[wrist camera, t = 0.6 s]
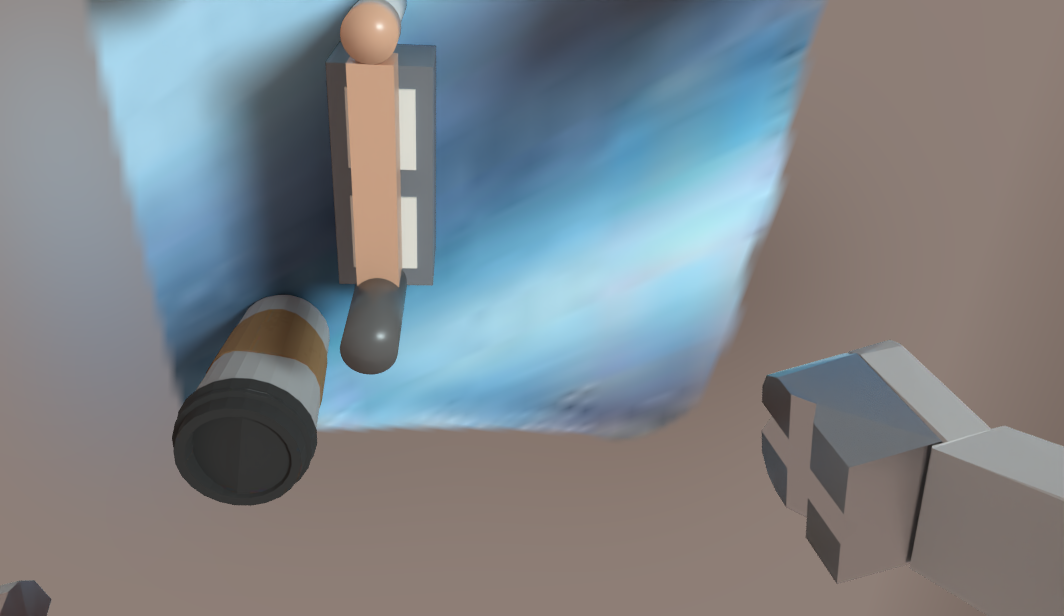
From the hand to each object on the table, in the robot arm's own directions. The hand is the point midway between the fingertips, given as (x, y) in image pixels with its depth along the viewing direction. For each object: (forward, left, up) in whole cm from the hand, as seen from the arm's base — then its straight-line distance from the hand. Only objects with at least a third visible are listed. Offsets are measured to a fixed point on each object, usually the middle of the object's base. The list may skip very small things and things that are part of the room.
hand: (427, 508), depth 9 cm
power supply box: (+9, -4, -46) cm, 47 cm away
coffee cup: (+25, -12, -47) cm, 54 cm away
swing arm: (+9, -4, -38) cm, 40 cm away
